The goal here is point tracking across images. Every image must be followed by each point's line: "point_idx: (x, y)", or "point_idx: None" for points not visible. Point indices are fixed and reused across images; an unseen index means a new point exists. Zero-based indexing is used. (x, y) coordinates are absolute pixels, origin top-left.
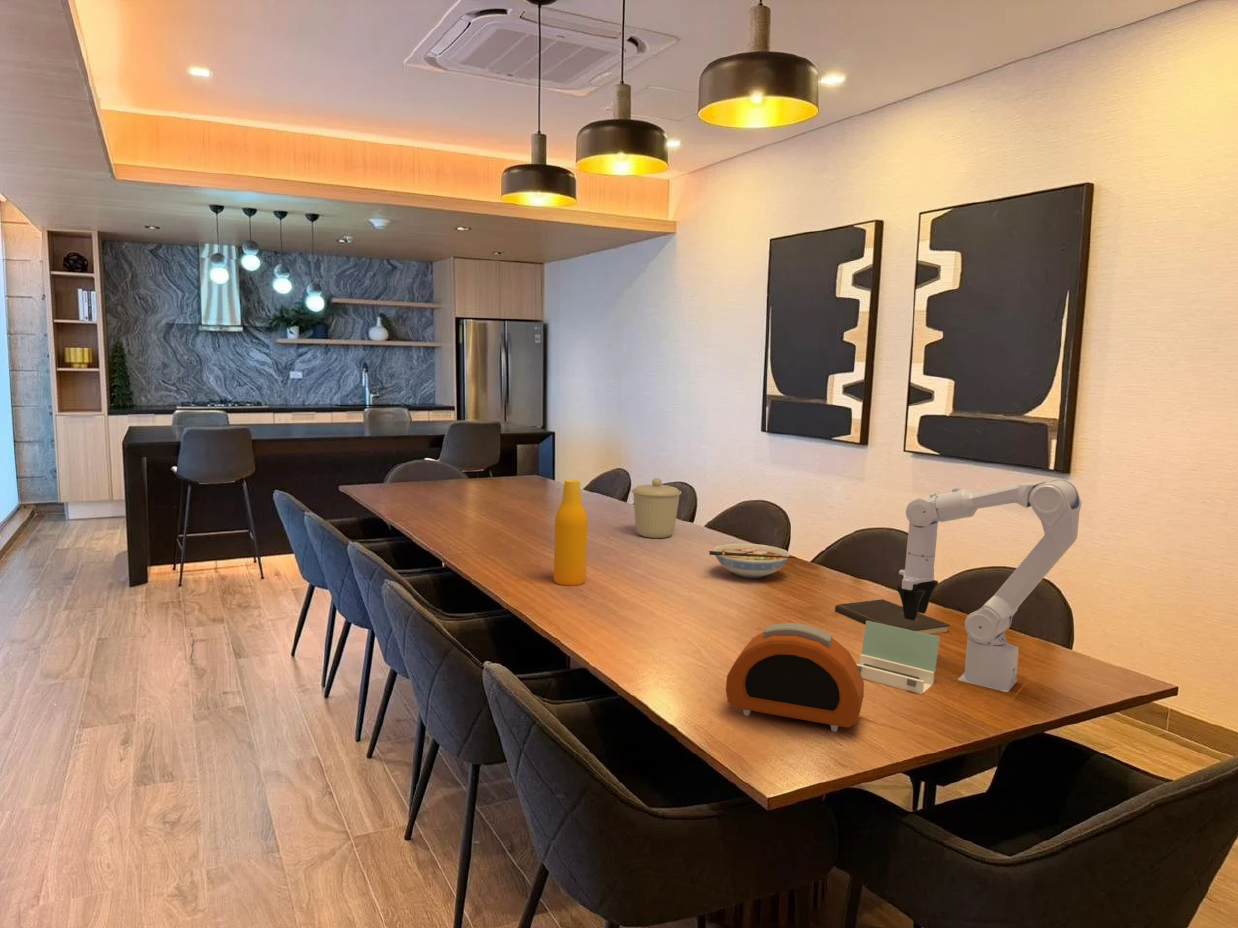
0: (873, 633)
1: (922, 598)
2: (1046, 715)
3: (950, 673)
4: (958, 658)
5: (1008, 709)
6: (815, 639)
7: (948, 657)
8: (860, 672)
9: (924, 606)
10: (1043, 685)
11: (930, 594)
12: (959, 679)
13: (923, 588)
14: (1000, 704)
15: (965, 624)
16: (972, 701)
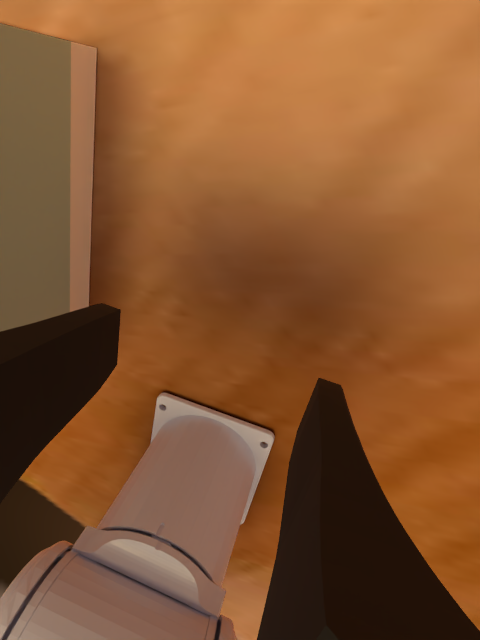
0: None
1: (293, 512)
2: (83, 516)
3: (230, 380)
4: (411, 423)
5: (64, 463)
6: None
7: (410, 392)
8: None
9: (289, 470)
10: (262, 564)
11: (264, 609)
12: (162, 399)
13: (272, 628)
14: (80, 455)
15: (22, 578)
16: None
